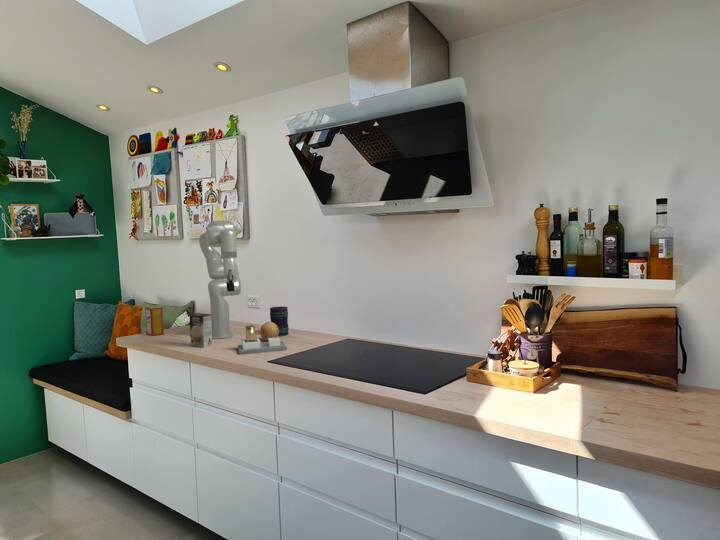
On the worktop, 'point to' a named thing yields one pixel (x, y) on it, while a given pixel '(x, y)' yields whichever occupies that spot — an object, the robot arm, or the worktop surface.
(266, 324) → the onion
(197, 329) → the coffee box
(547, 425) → the worktop surface
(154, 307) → the baking soda box
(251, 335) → the brass stub
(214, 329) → the robot arm
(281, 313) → the storage jar
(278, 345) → the manifold plate
